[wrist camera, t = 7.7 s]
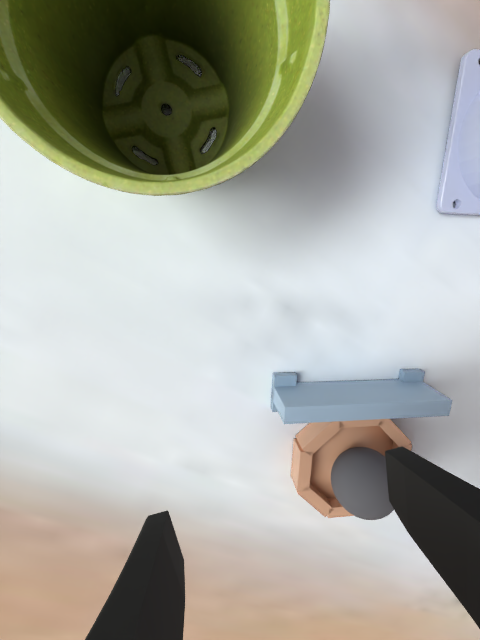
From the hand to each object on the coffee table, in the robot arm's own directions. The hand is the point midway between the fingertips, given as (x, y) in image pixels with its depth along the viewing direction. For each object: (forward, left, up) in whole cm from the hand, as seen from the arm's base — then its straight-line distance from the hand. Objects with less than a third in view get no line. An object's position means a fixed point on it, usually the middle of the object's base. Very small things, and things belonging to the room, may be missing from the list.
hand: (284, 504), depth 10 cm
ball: (-8, +6, -9) cm, 13 cm away
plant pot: (+4, -14, -10) cm, 18 cm away
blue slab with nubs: (-7, +1, -10) cm, 12 cm away
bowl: (-8, +6, -10) cm, 14 cm away
